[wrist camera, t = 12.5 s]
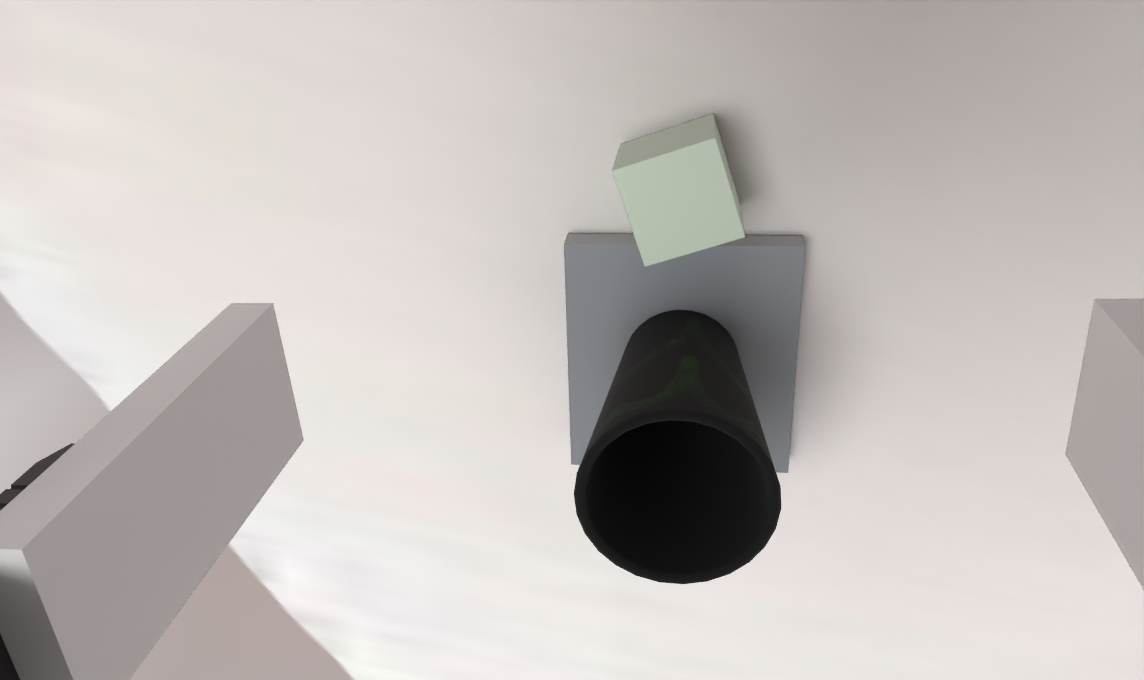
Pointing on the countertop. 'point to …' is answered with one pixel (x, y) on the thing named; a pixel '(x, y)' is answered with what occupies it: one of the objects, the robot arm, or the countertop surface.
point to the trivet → (690, 282)
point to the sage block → (678, 190)
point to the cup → (678, 457)
